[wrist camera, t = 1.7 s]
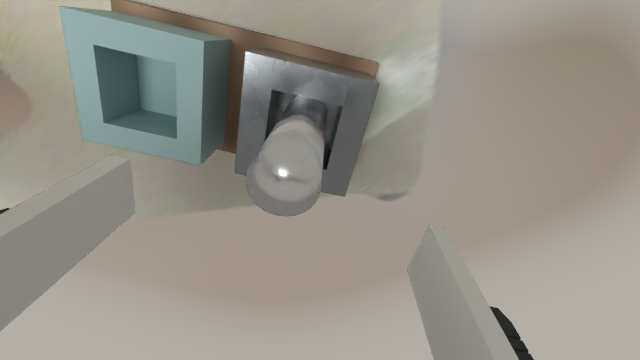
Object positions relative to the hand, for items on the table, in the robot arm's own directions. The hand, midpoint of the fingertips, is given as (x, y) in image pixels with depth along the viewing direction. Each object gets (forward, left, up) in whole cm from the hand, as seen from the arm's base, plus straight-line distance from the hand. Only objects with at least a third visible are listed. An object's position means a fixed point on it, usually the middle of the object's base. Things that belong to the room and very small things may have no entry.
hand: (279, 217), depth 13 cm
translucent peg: (0, 0, -17) cm, 17 cm away
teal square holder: (-13, 0, -18) cm, 22 cm away
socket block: (0, 0, -18) cm, 18 cm away
